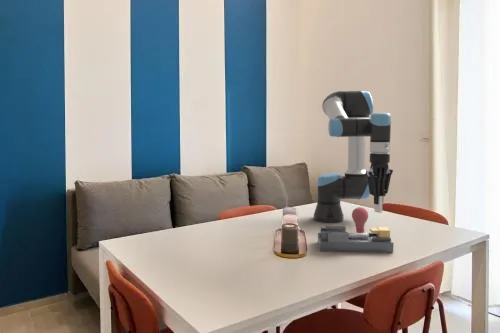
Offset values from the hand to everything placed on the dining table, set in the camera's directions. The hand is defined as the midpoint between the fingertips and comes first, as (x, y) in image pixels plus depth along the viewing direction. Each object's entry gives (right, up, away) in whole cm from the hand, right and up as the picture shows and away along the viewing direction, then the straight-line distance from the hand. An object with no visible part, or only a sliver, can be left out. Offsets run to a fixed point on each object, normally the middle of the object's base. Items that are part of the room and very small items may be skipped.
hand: (378, 211), depth 165 cm
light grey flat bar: (-12, -10, +3) cm, 16 cm away
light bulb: (-2, -12, +22) cm, 25 cm away
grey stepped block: (-9, -15, +3) cm, 17 cm away
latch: (+1, -10, +2) cm, 11 cm away
